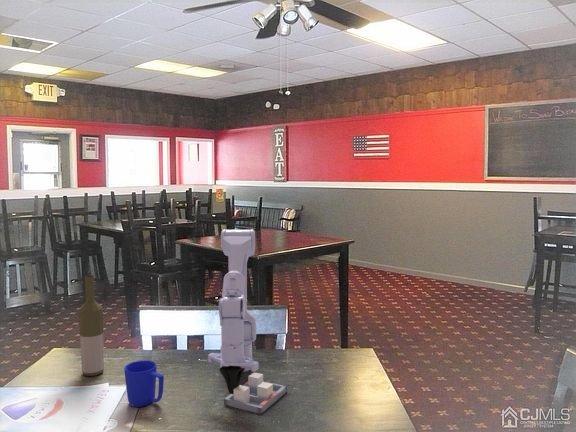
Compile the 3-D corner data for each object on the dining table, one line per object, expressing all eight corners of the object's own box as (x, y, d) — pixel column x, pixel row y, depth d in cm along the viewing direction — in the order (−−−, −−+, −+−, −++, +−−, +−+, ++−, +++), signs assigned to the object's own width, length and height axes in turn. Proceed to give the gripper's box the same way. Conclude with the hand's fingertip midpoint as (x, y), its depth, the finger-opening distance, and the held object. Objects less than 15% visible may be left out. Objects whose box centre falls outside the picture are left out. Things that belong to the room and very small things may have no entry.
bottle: (84, 369, 154) (80, 274, 152) (107, 368, 155) (104, 273, 153) (77, 378, 147) (73, 279, 145) (102, 377, 148) (98, 278, 146)
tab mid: (257, 401, 130) (257, 386, 130) (263, 396, 133) (263, 382, 133) (267, 403, 129) (267, 388, 129) (272, 398, 132) (272, 384, 131)
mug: (150, 416, 124) (149, 378, 123) (118, 404, 131) (117, 368, 130) (174, 403, 131) (173, 367, 130) (142, 393, 138) (141, 358, 137)
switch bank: (224, 408, 129) (224, 398, 128) (252, 387, 141) (252, 378, 141) (260, 417, 124) (260, 407, 123) (286, 395, 136) (286, 385, 136)
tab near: (233, 404, 129) (233, 389, 128) (240, 399, 131) (239, 385, 131) (243, 406, 127) (243, 391, 127) (249, 402, 130) (249, 387, 130)
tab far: (248, 390, 137) (248, 376, 136) (254, 386, 140) (254, 372, 139) (257, 392, 135) (257, 378, 135) (263, 388, 138) (263, 374, 138)
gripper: (200, 342, 129) (201, 392, 130) (248, 351, 122) (248, 404, 123) (216, 334, 135) (217, 382, 136) (262, 342, 128) (263, 393, 130)
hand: (233, 392), depth 130 cm, fingers closed
